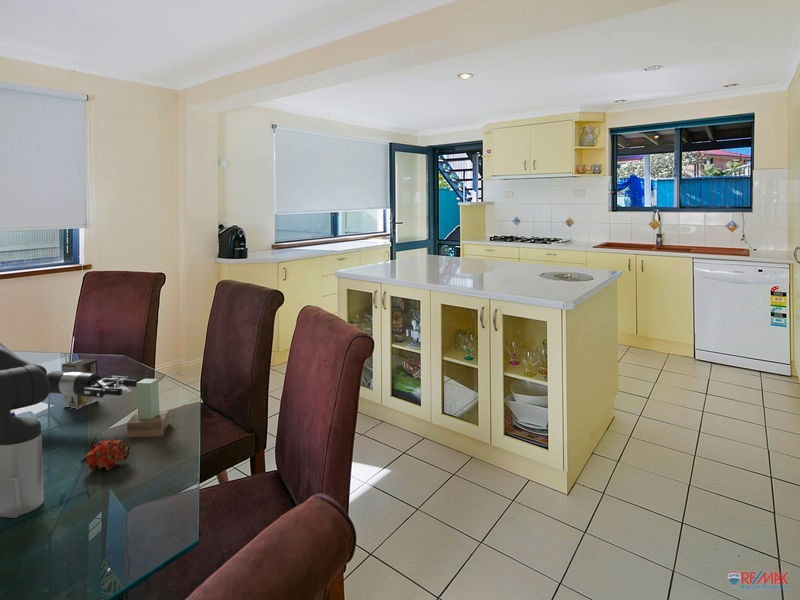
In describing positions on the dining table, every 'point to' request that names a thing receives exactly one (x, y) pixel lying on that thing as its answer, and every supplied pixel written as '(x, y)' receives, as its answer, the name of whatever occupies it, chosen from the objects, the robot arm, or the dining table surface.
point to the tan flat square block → (147, 425)
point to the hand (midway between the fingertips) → (129, 387)
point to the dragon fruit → (106, 454)
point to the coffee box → (79, 366)
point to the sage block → (147, 398)
